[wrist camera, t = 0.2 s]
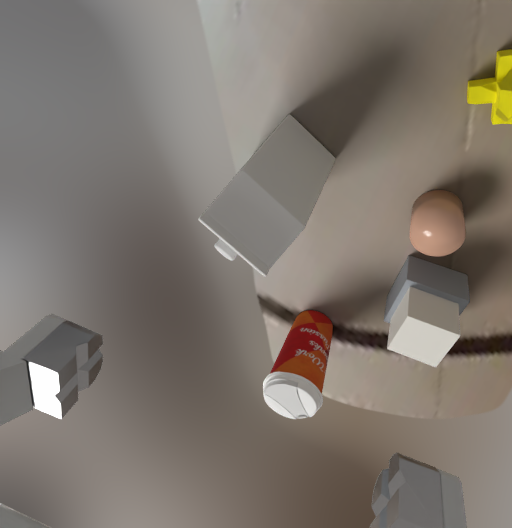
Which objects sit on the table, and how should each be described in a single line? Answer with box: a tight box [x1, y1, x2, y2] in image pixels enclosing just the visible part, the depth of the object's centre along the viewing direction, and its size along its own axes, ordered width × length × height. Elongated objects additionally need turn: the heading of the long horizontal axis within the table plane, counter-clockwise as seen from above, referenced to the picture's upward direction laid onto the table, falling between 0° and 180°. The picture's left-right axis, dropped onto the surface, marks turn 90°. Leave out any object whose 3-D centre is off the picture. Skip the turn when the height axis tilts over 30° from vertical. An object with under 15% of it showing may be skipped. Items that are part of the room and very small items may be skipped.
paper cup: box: [263, 310, 333, 419], centre depth 57 cm, size 8×8×14 cm
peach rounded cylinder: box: [410, 190, 466, 256], centre depth 45 cm, size 5×5×5 cm
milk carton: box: [199, 114, 336, 276], centre depth 41 cm, size 7×7×19 cm
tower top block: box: [387, 287, 460, 367], centre depth 47 cm, size 6×6×5 cm
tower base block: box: [384, 255, 470, 323], centre depth 51 cm, size 7×7×5 cm
